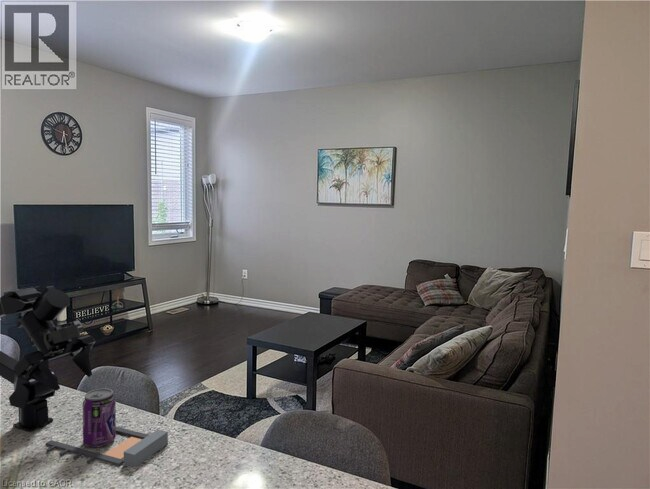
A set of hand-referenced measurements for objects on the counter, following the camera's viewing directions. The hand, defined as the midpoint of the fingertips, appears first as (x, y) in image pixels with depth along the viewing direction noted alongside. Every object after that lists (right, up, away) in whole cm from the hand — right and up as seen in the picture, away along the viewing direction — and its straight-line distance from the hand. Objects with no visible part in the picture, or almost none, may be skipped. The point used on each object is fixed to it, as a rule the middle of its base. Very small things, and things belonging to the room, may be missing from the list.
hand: (75, 382), depth 112 cm
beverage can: (+7, -14, -1) cm, 16 cm away
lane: (+9, -14, -3) cm, 17 cm away
